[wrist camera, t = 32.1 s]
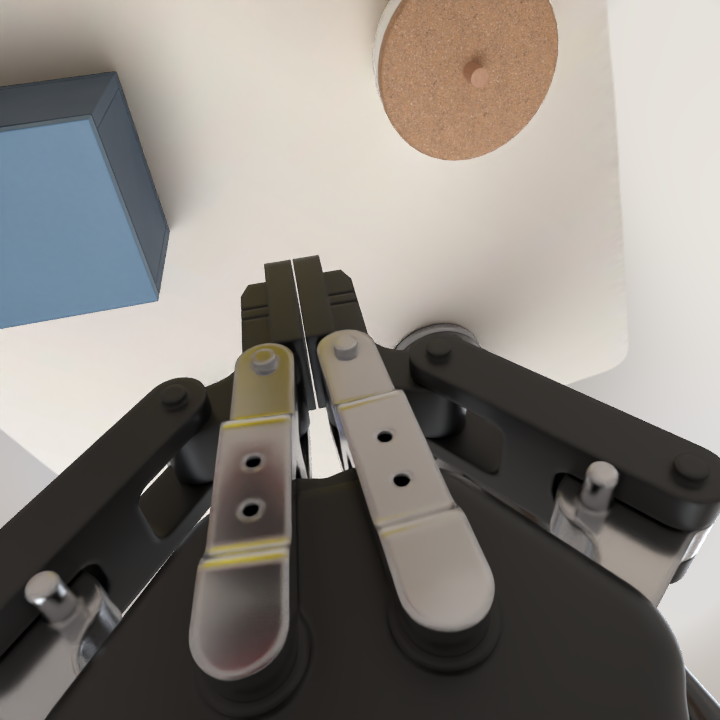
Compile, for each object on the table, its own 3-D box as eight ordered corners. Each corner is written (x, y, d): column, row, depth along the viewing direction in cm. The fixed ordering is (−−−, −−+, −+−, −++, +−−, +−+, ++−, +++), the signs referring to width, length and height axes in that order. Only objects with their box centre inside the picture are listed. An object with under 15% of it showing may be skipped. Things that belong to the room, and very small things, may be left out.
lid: (-68, 334, 37) (-73, 342, 36) (-199, 156, 29) (-208, 162, 28) (159, 294, 38) (158, 301, 37) (91, 113, 30) (88, 118, 30)
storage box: (-11, 260, 44) (-53, 329, 37) (-104, 100, 36) (-179, 151, 29) (169, 232, 45) (159, 294, 38) (116, 71, 37) (91, 113, 30)
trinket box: (379, 142, 43) (408, 194, 36) (337, -22, 36) (364, 4, 29) (517, 94, 42) (574, 138, 35) (502, -81, 35) (570, -70, 28)
